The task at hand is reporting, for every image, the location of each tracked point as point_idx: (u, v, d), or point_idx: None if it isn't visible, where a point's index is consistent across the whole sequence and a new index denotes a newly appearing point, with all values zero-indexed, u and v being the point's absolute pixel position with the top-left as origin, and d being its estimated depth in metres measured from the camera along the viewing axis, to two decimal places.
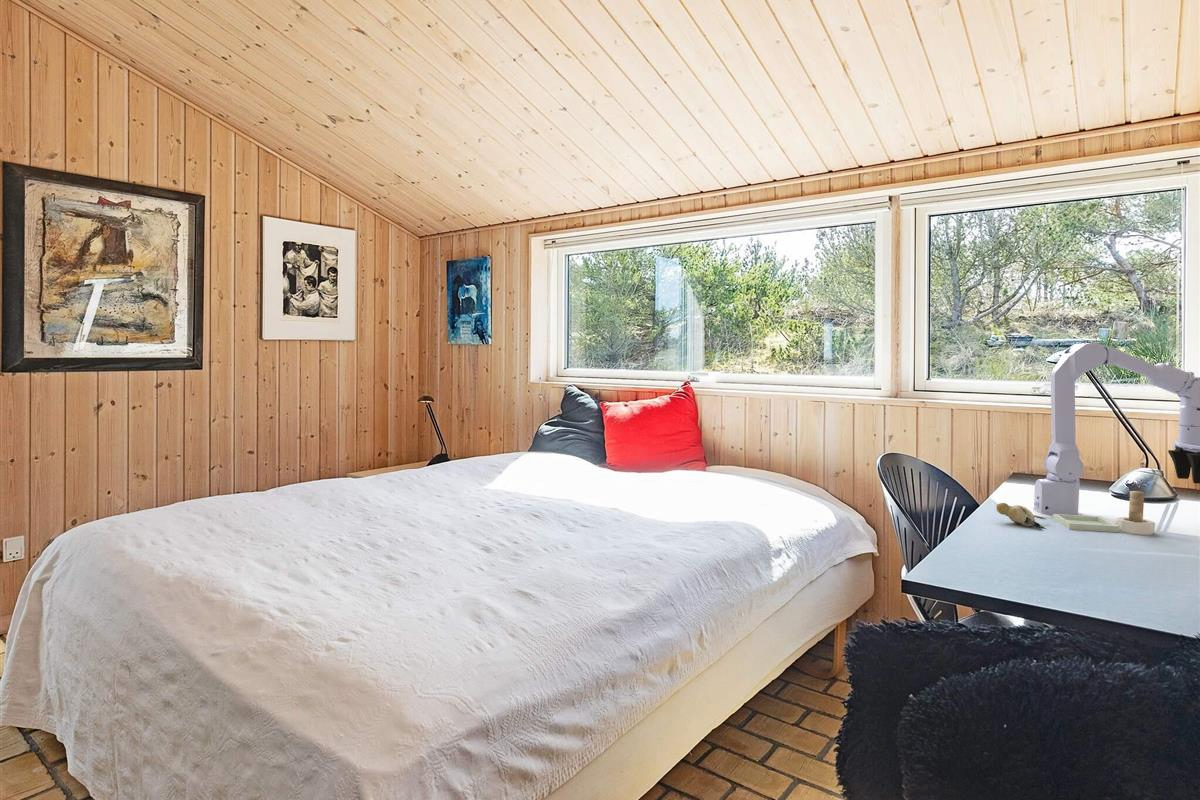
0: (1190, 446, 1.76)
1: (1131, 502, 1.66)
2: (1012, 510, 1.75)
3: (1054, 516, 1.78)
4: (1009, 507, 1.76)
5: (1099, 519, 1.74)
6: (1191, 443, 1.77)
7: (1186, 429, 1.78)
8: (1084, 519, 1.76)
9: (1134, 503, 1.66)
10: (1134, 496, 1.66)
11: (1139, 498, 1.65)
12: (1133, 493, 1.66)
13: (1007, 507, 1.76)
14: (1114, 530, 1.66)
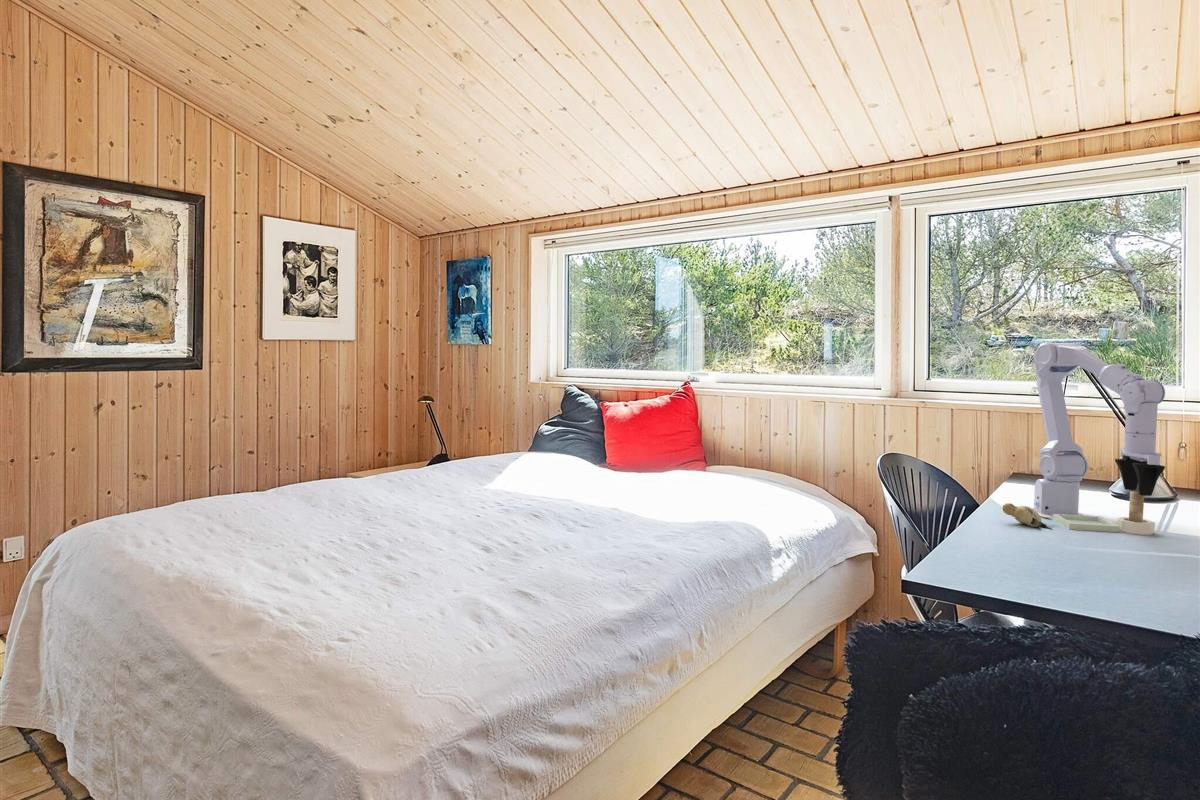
0: (1136, 455, 1.63)
1: (1131, 502, 1.66)
2: (1018, 511, 1.74)
3: (1054, 516, 1.78)
4: (1015, 508, 1.75)
5: (1099, 519, 1.74)
6: (1137, 452, 1.64)
7: (1132, 436, 1.64)
8: (1084, 519, 1.76)
9: (1134, 503, 1.66)
10: (1134, 496, 1.66)
11: (1139, 498, 1.65)
12: (1133, 493, 1.66)
13: (1013, 508, 1.76)
14: (1114, 530, 1.66)
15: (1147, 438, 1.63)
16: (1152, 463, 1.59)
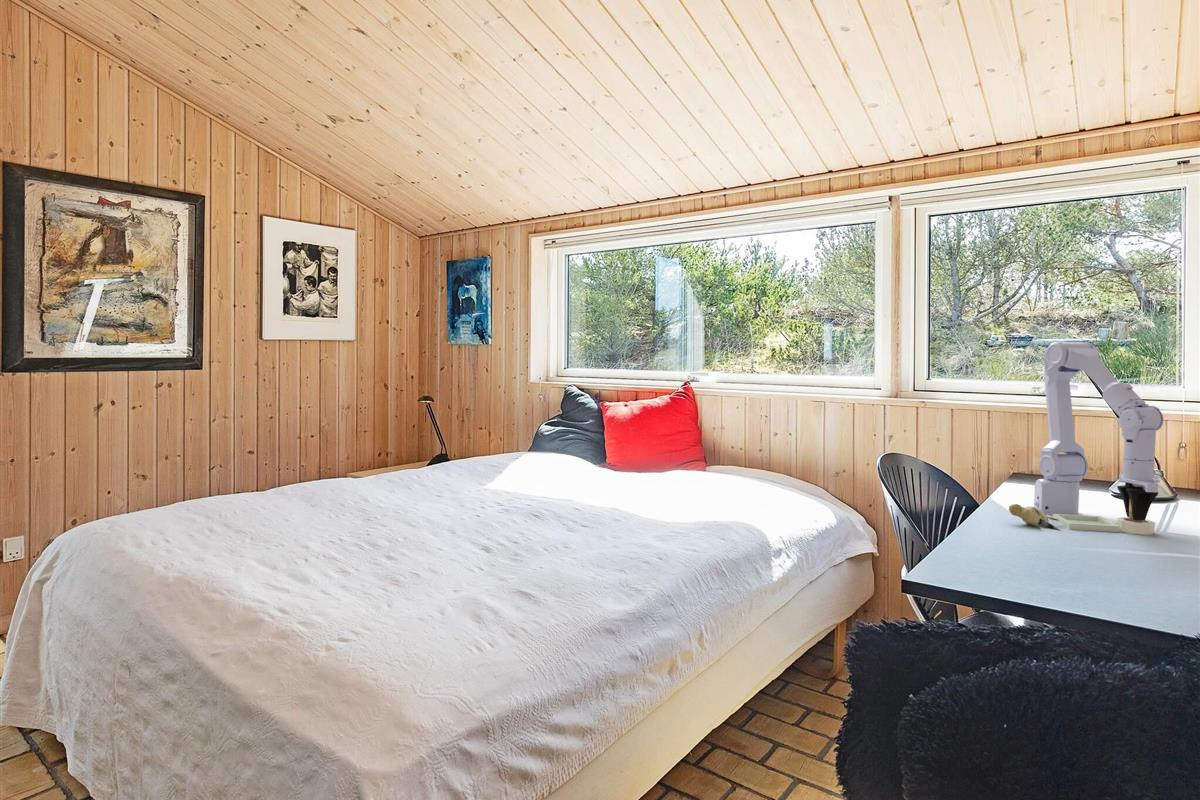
0: (1134, 482, 1.63)
1: None
2: (1025, 511, 1.73)
3: (1054, 516, 1.78)
4: (1022, 508, 1.75)
5: (1099, 519, 1.74)
6: (1135, 478, 1.64)
7: (1130, 463, 1.65)
8: (1084, 519, 1.76)
9: None
10: None
11: None
12: None
13: (1020, 508, 1.75)
14: (1114, 530, 1.66)
15: (1145, 465, 1.63)
16: (1150, 490, 1.59)
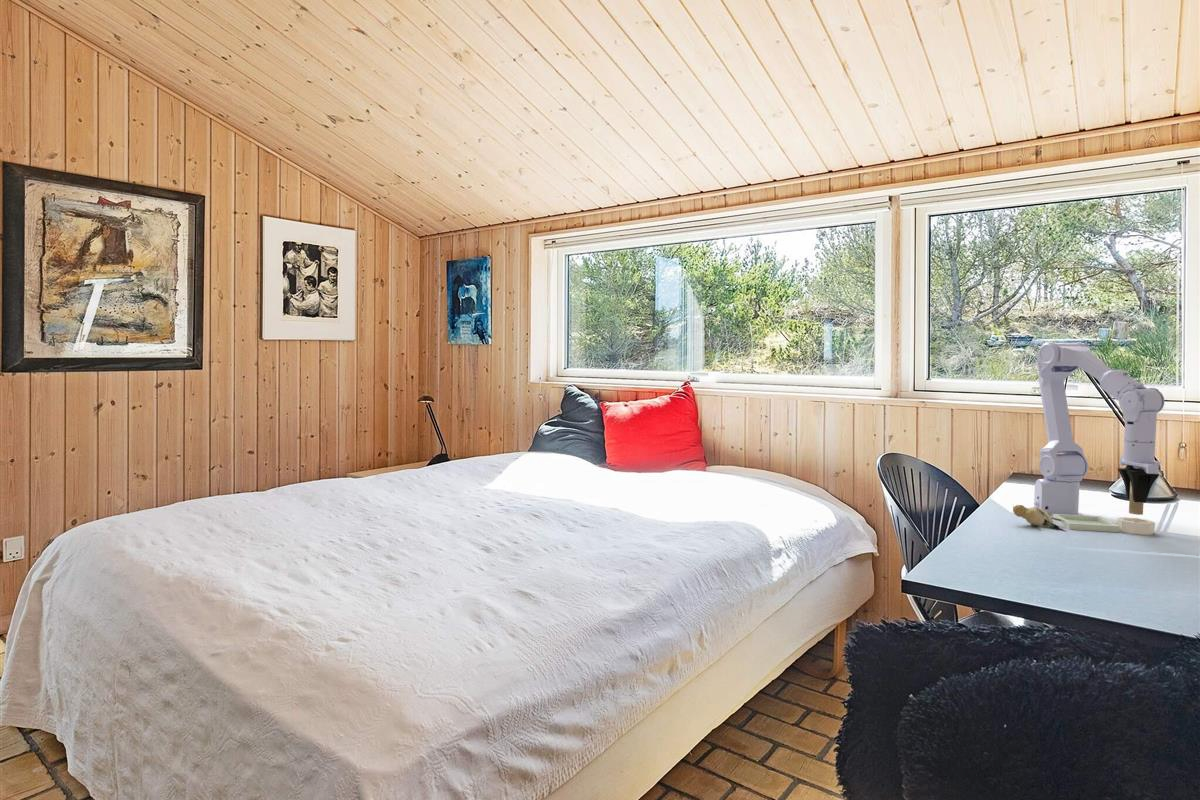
0: (1135, 463, 1.63)
1: None
2: (1030, 512, 1.72)
3: (1054, 516, 1.78)
4: (1026, 509, 1.74)
5: (1099, 519, 1.74)
6: (1136, 460, 1.64)
7: (1131, 445, 1.64)
8: (1084, 519, 1.76)
9: None
10: None
11: None
12: None
13: (1024, 509, 1.74)
14: (1114, 530, 1.66)
15: (1146, 447, 1.63)
16: (1151, 472, 1.59)
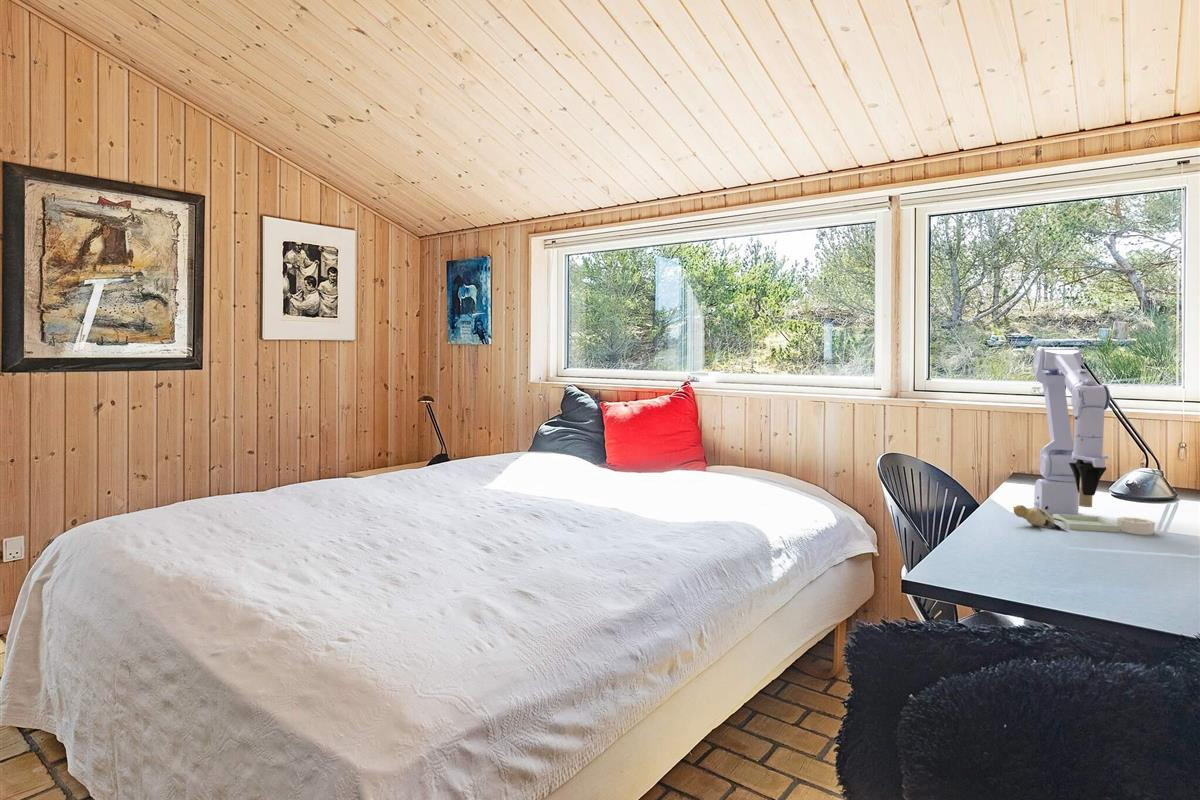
0: (1083, 458, 1.69)
1: None
2: (1031, 513, 1.72)
3: (1054, 516, 1.78)
4: (1027, 509, 1.73)
5: (1099, 519, 1.74)
6: (1085, 454, 1.69)
7: (1080, 440, 1.70)
8: (1084, 519, 1.76)
9: None
10: None
11: None
12: None
13: (1025, 510, 1.73)
14: (1114, 530, 1.66)
15: (1094, 441, 1.68)
16: (1097, 466, 1.65)
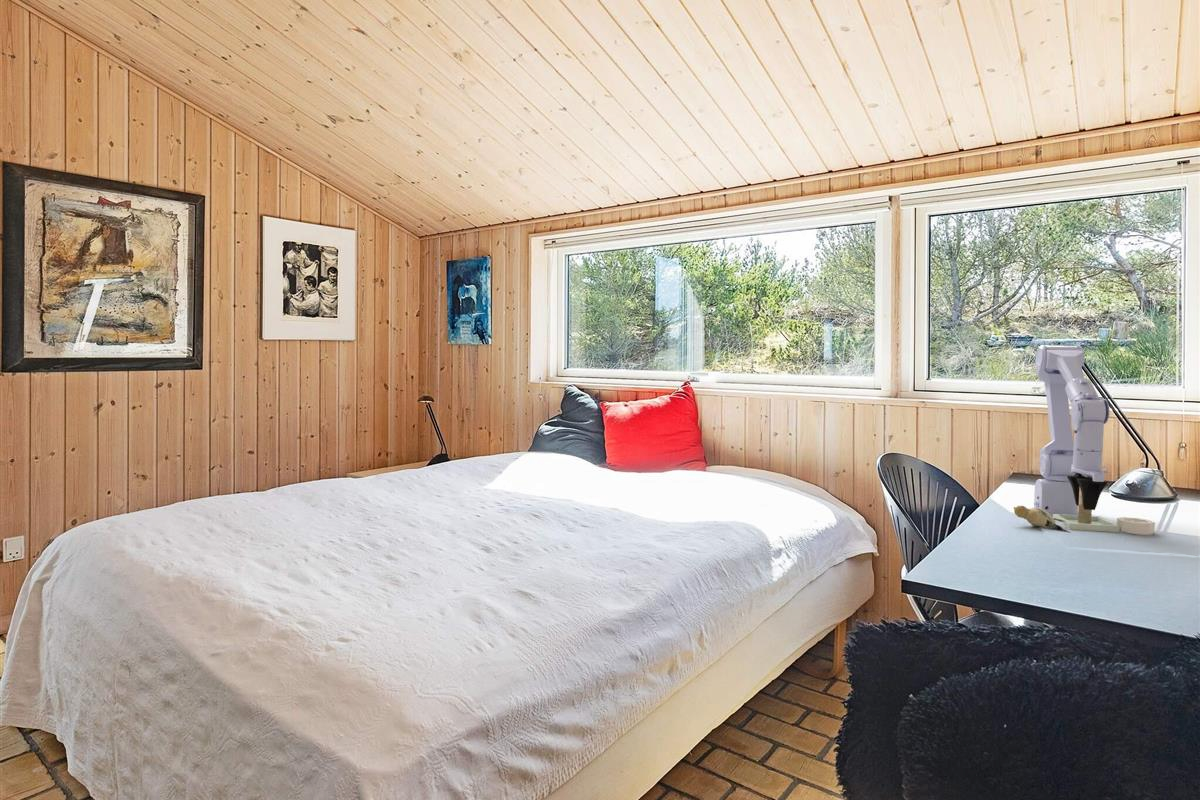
0: (1082, 472, 1.69)
1: (1080, 495, 1.72)
2: (1032, 513, 1.71)
3: (1054, 516, 1.78)
4: (1028, 510, 1.73)
5: (1099, 519, 1.74)
6: (1084, 468, 1.70)
7: (1079, 454, 1.70)
8: None
9: None
10: None
11: None
12: None
13: (1026, 510, 1.73)
14: (1114, 530, 1.66)
15: (1093, 455, 1.69)
16: (1097, 480, 1.65)
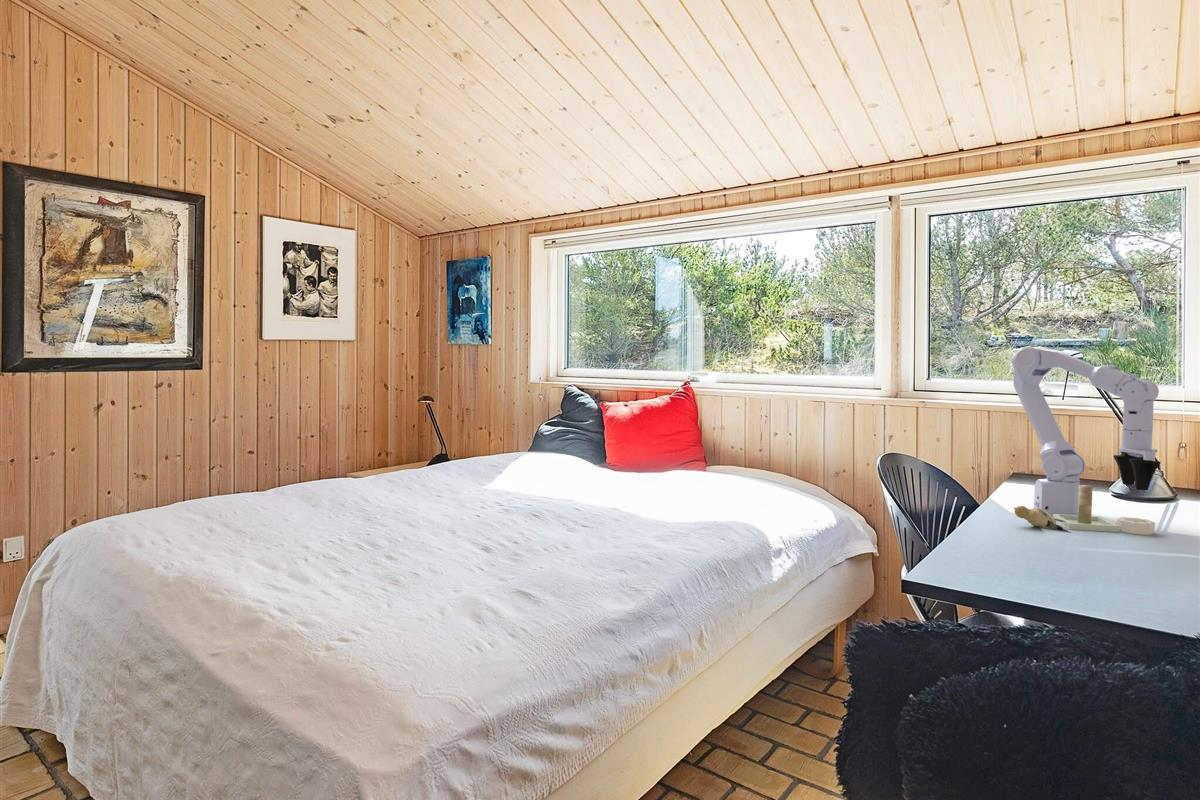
0: (1132, 451, 1.70)
1: (1080, 496, 1.72)
2: (1032, 513, 1.71)
3: (1054, 516, 1.78)
4: (1028, 510, 1.72)
5: (1099, 519, 1.74)
6: (1134, 448, 1.71)
7: (1129, 433, 1.71)
8: None
9: (1083, 496, 1.71)
10: (1083, 490, 1.71)
11: (1087, 492, 1.71)
12: (1082, 487, 1.71)
13: (1026, 510, 1.72)
14: (1114, 530, 1.66)
15: (1143, 435, 1.70)
16: (1148, 459, 1.66)
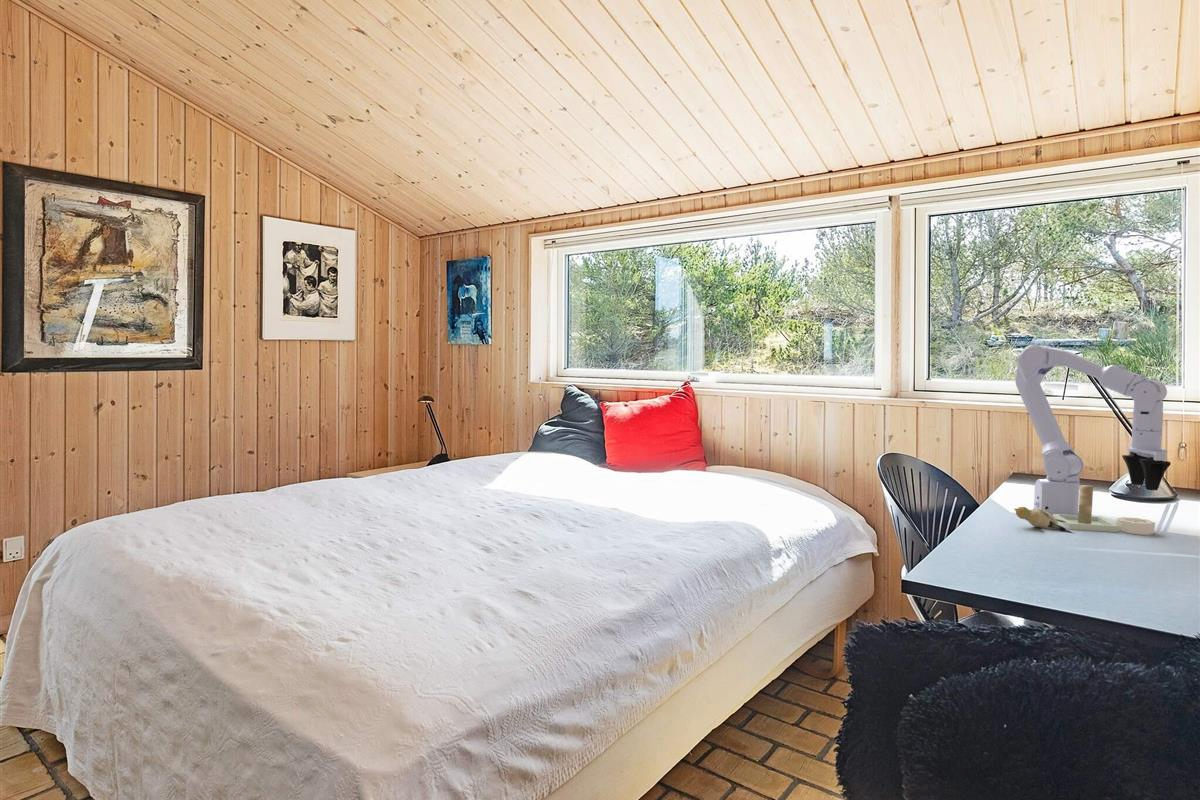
0: (1143, 451, 1.70)
1: (1081, 496, 1.72)
2: (1034, 514, 1.70)
3: (1054, 516, 1.78)
4: (1030, 511, 1.71)
5: (1099, 519, 1.74)
6: (1144, 448, 1.71)
7: (1139, 434, 1.72)
8: None
9: (1083, 496, 1.71)
10: (1083, 490, 1.71)
11: (1088, 492, 1.71)
12: (1082, 487, 1.71)
13: (1028, 511, 1.71)
14: (1114, 530, 1.66)
15: (1153, 435, 1.70)
16: (1158, 459, 1.66)
